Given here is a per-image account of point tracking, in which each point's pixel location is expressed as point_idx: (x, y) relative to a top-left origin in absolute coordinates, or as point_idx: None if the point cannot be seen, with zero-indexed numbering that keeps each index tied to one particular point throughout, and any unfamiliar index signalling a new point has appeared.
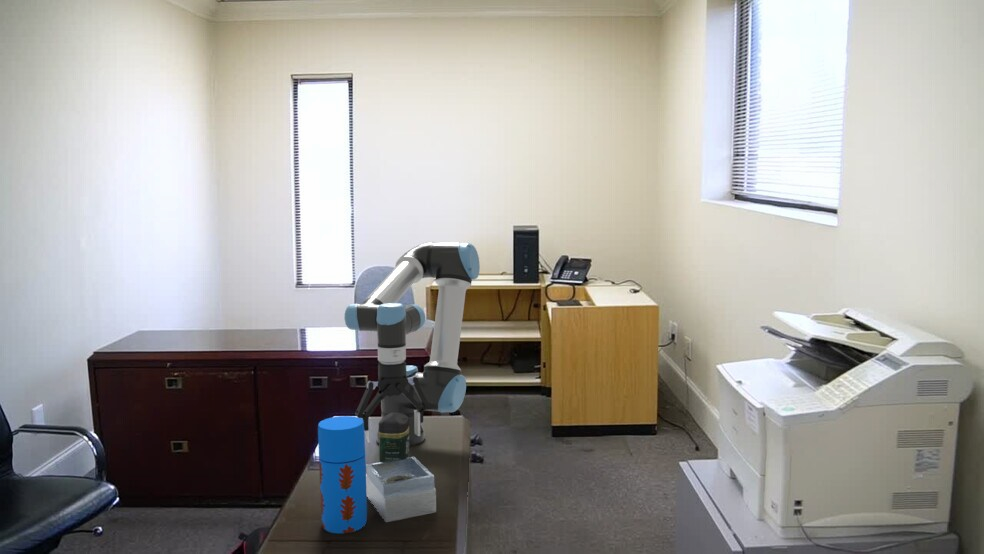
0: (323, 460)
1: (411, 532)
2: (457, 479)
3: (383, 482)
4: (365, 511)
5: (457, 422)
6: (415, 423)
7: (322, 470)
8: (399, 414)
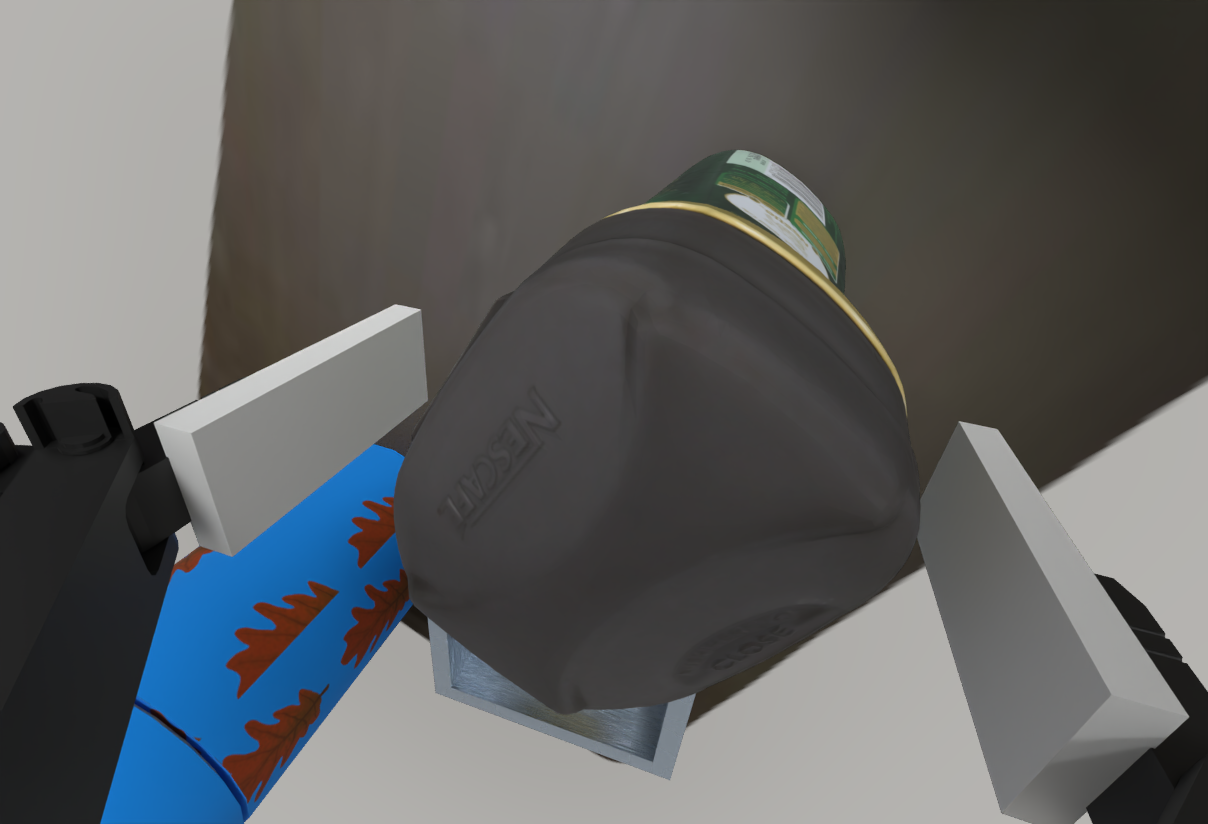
0: None
1: None
2: (1052, 482)
3: (442, 677)
4: None
5: None
6: (984, 549)
7: None
8: (733, 563)
